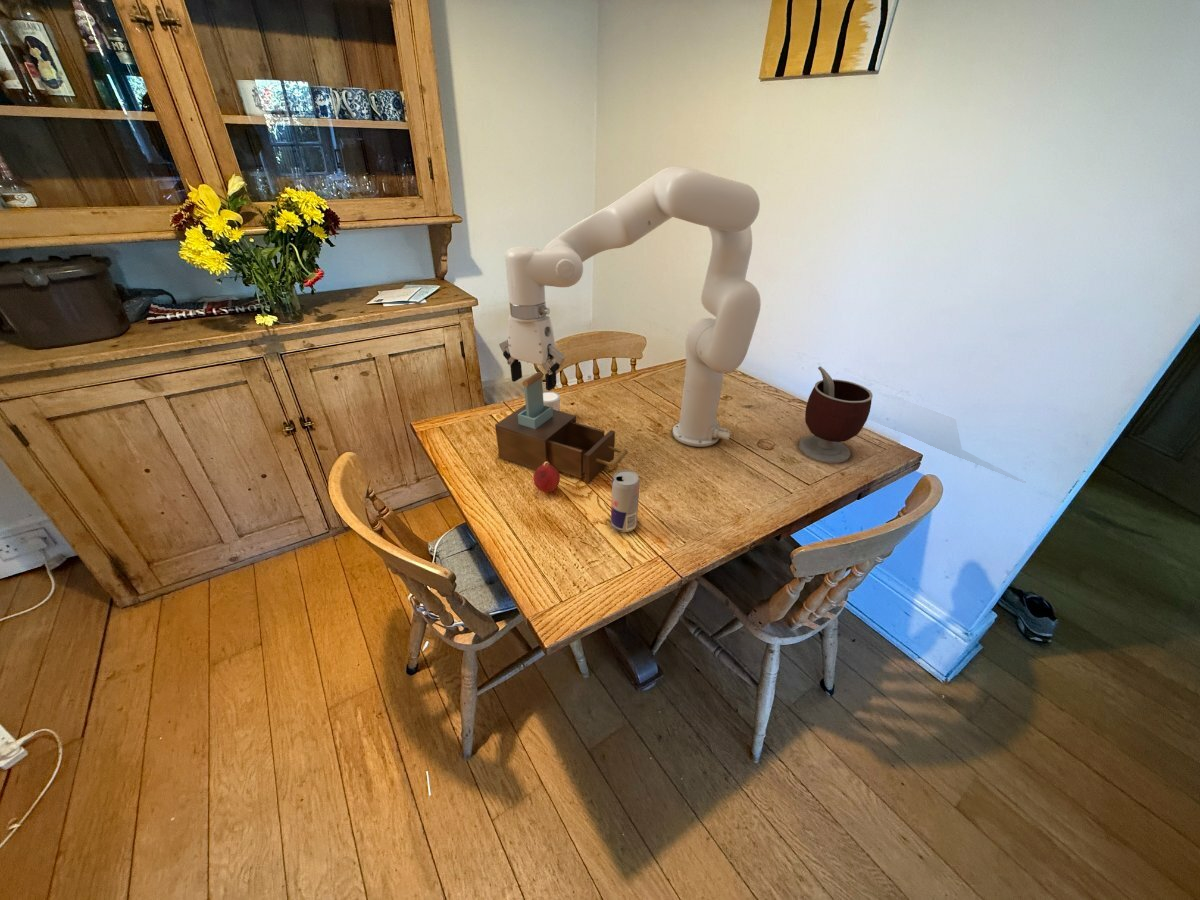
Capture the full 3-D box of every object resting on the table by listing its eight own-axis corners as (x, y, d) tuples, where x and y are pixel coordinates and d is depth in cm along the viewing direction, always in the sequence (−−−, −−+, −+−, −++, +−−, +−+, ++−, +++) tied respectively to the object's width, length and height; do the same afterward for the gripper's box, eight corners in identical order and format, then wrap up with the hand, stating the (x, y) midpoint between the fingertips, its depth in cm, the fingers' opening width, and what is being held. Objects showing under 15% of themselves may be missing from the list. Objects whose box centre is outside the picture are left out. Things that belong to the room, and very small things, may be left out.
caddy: (553, 416, 114) (550, 372, 108) (535, 429, 109) (531, 384, 102) (536, 411, 116) (533, 368, 110) (518, 424, 111) (513, 379, 104)
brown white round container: (557, 425, 130) (556, 403, 126) (534, 422, 131) (532, 400, 127) (563, 414, 135) (563, 392, 131) (541, 411, 136) (540, 390, 133)
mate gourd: (865, 458, 117) (893, 386, 106) (823, 469, 112) (848, 395, 101) (819, 429, 129) (840, 362, 118) (780, 439, 124) (798, 370, 113)
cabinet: (577, 448, 120) (576, 415, 114) (547, 474, 110) (545, 440, 104) (531, 433, 126) (528, 402, 120) (499, 457, 115) (494, 424, 110)
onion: (549, 502, 101) (547, 473, 96) (529, 494, 103) (526, 464, 99) (565, 489, 105) (564, 460, 101) (545, 480, 107) (543, 452, 103)
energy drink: (609, 516, 97) (610, 469, 91) (634, 515, 98) (637, 468, 91) (612, 533, 93) (613, 486, 86) (638, 532, 93) (642, 485, 87)
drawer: (632, 463, 112) (633, 436, 108) (608, 490, 103) (608, 462, 99) (568, 443, 120) (567, 417, 115) (540, 467, 110) (538, 439, 106)
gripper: (571, 311, 97) (573, 385, 106) (507, 300, 104) (514, 371, 113) (552, 321, 92) (555, 398, 101) (485, 308, 99) (494, 382, 108)
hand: (533, 383), depth 107 cm, fingers open, 9 cm apart
